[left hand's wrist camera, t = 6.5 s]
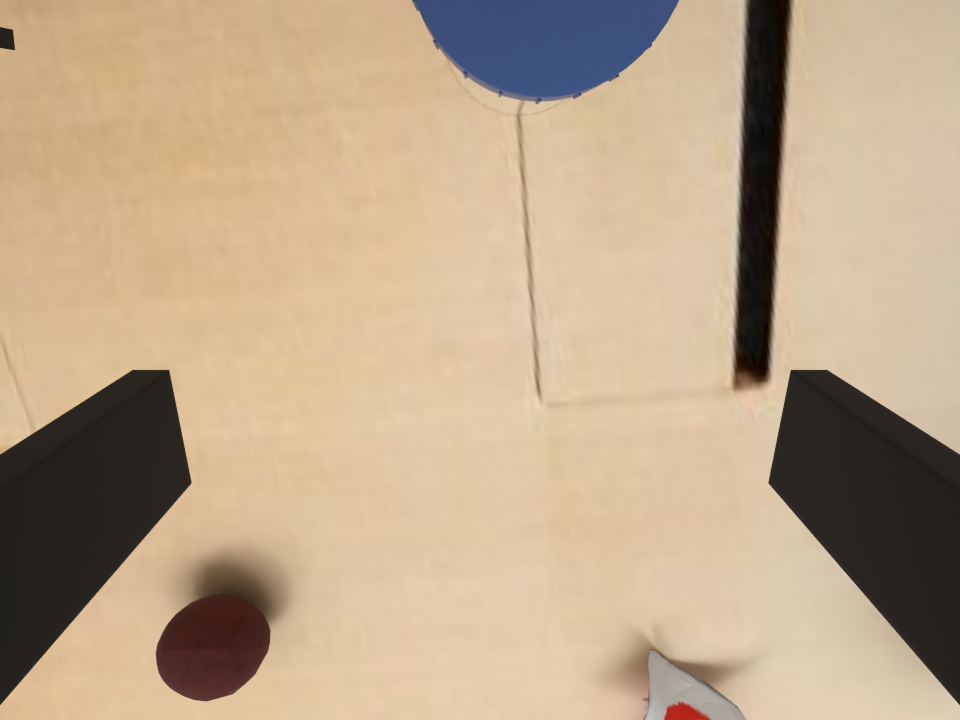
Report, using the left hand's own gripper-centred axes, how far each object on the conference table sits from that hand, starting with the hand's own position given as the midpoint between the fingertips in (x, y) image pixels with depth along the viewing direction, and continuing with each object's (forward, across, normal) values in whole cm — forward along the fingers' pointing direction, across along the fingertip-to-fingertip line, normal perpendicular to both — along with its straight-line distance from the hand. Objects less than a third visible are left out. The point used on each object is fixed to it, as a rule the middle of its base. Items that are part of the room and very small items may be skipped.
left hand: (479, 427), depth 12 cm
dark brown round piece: (+26, +20, +30) cm, 44 cm away
